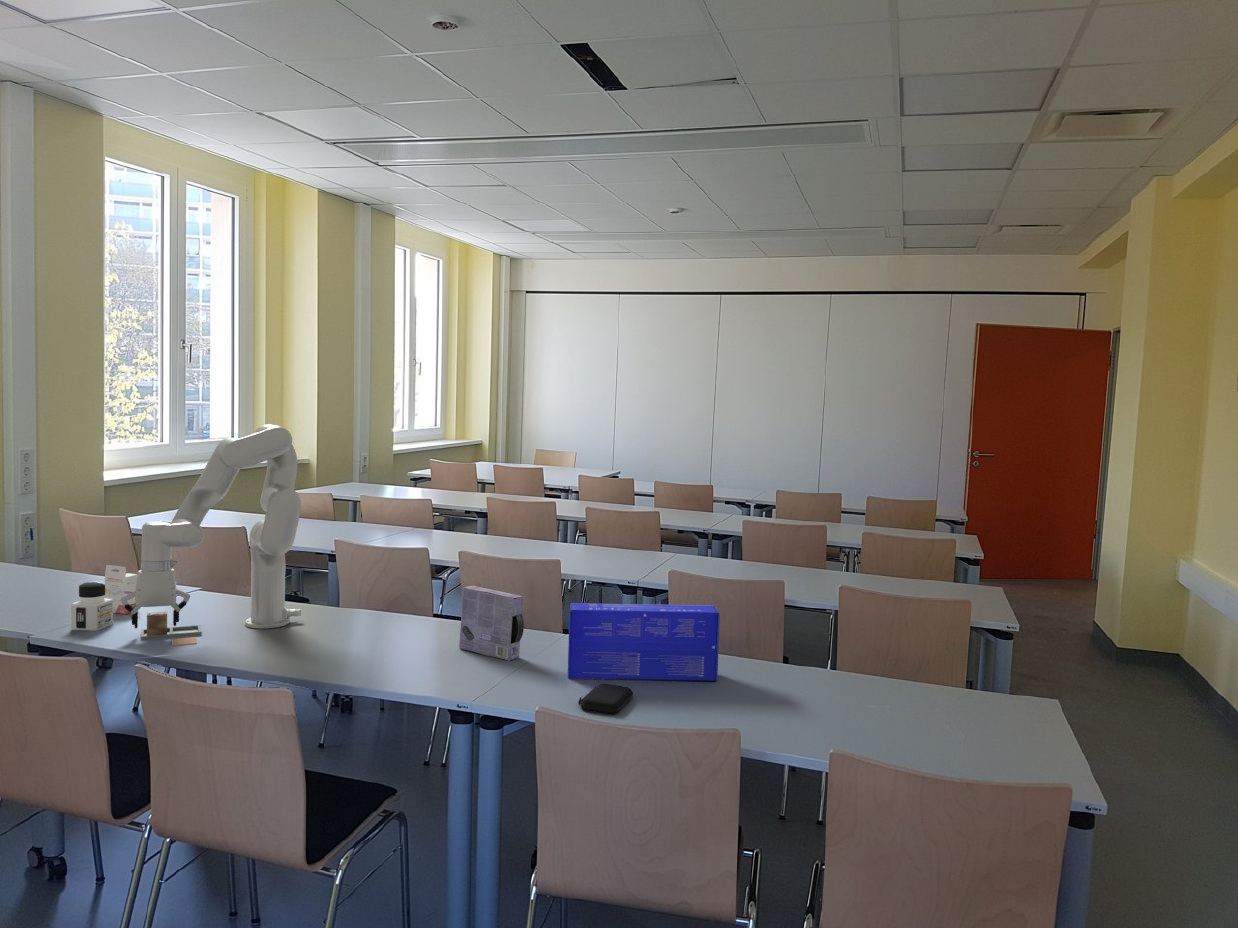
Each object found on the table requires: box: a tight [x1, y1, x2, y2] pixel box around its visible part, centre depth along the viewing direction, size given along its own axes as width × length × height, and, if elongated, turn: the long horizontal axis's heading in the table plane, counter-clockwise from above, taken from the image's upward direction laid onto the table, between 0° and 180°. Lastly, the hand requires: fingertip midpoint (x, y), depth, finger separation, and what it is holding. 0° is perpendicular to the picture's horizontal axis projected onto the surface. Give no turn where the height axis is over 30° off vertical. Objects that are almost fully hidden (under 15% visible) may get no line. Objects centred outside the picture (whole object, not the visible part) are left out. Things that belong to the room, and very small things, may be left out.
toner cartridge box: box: [567, 602, 721, 682], centre depth 229 cm, size 39×8×18 cm, turn 93°
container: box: [70, 581, 114, 631], centre depth 253 cm, size 8×8×13 cm
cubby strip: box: [140, 624, 202, 641], centre depth 249 cm, size 15×8×1 cm, turn 118°
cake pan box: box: [458, 585, 525, 662], centre depth 243 cm, size 19×5×18 cm, turn 59°
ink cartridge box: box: [104, 564, 138, 615], centre depth 271 cm, size 9×5×15 cm, turn 73°
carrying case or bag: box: [578, 683, 634, 716], centre depth 208 cm, size 11×3×15 cm
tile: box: [171, 636, 198, 647], centre depth 242 cm, size 6×6×1 cm
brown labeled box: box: [146, 611, 168, 636], centre depth 247 cm, size 5×5×6 cm
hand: (155, 625), depth 246 cm, fingers open, 9 cm apart
